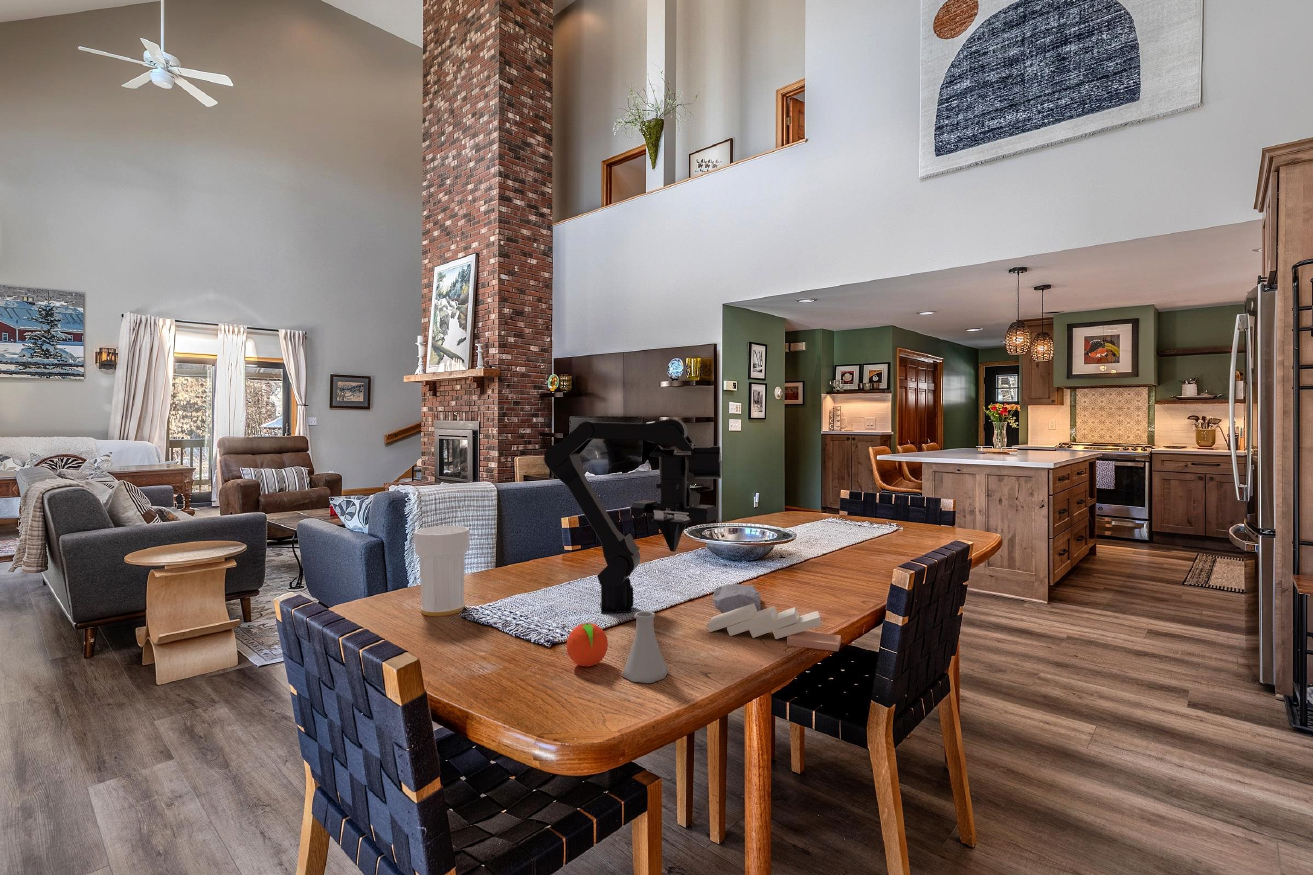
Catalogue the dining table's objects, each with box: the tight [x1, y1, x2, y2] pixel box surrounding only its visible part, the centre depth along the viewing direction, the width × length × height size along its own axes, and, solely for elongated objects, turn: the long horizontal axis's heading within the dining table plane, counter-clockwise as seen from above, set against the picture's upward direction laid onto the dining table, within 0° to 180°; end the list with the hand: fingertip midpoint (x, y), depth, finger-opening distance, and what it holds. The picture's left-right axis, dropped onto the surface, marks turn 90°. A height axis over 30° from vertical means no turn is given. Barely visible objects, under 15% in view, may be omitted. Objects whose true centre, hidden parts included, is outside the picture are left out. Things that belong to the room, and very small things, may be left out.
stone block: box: [712, 583, 761, 613], centre depth 141 cm, size 12×5×10 cm
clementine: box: [566, 622, 609, 667], centre depth 106 cm, size 8×7×7 cm
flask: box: [621, 610, 669, 684], centre depth 103 cm, size 7×7×10 cm
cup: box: [413, 525, 470, 617], centre depth 137 cm, size 11×11×17 cm
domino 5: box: [786, 630, 842, 652], centre depth 117 cm, size 2×5×9 cm
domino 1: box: [705, 603, 757, 633], centre depth 124 cm, size 2×5×9 cm
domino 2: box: [726, 605, 779, 637], centre depth 122 cm, size 2×5×9 cm
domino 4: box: [772, 610, 824, 640], centre depth 120 cm, size 2×5×9 cm
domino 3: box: [749, 606, 800, 639], centre depth 120 cm, size 2×5×9 cm
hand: (673, 551), depth 135 cm, fingers closed
